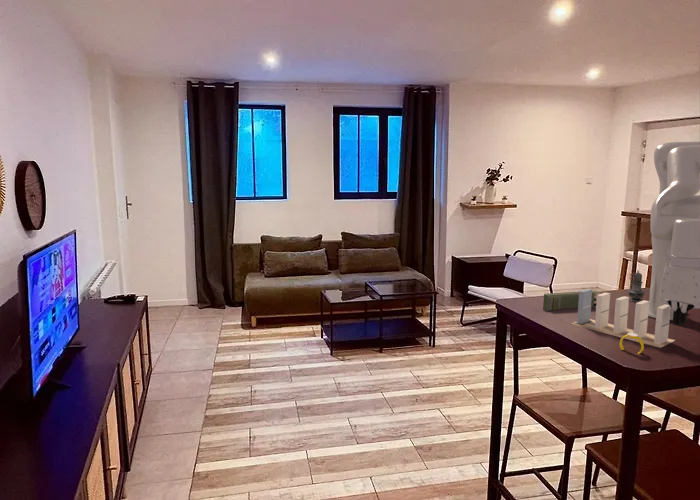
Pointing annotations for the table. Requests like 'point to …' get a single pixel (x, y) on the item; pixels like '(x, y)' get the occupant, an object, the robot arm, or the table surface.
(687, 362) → the table surface
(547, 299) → the handheld radio
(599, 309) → the domino
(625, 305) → the domino
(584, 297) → the domino
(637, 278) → the dark grey tall piece
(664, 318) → the domino
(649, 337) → the board
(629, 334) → the yellow wristwatch
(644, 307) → the domino
